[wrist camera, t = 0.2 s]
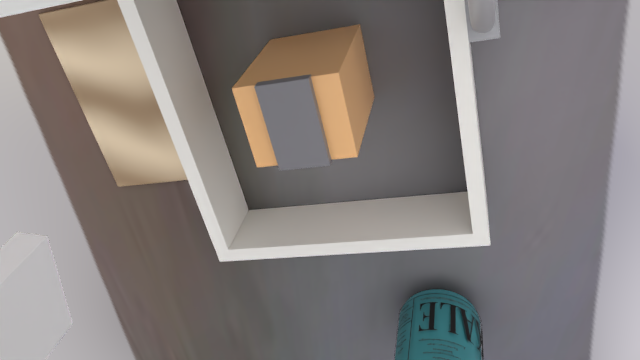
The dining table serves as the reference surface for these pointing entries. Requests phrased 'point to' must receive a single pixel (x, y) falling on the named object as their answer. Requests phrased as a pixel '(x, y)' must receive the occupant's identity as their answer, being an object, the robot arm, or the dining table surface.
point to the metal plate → (114, 92)
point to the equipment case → (308, 220)
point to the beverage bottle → (438, 328)
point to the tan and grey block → (306, 99)
